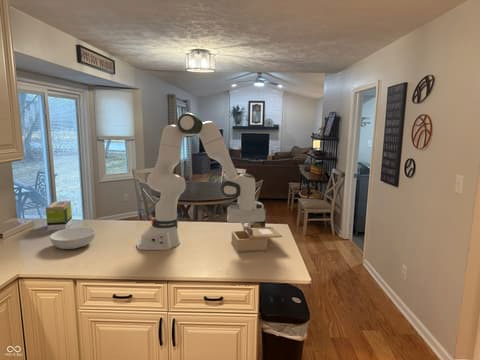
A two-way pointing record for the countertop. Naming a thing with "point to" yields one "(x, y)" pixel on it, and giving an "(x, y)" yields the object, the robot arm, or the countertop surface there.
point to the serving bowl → (72, 237)
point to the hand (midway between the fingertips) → (245, 229)
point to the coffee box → (258, 223)
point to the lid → (262, 233)
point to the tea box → (59, 215)
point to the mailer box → (247, 243)
